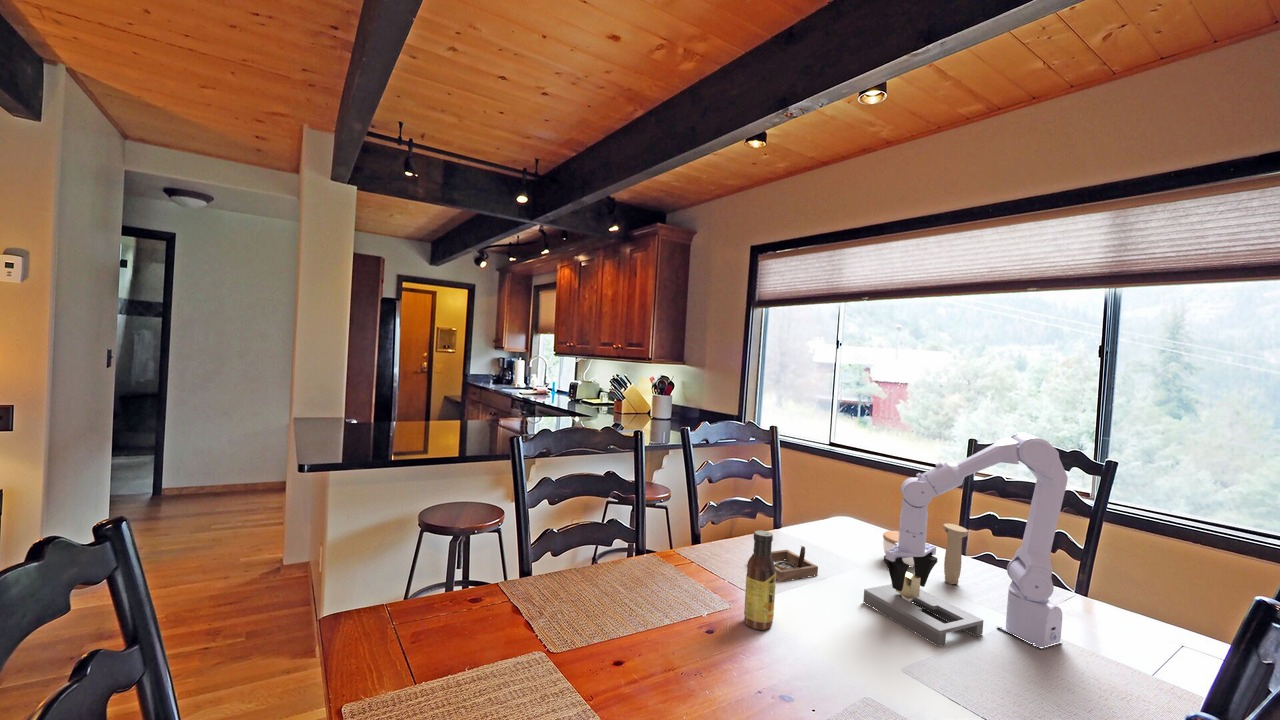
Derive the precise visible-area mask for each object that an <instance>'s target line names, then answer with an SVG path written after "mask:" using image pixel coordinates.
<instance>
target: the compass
mask: <svg viewBox="0 0 1280 720" xmlns="http://www.w3.org/2000/svg"><path fill="white" fill-rule="evenodd" d="M800 547H801V548H800V552H799V555H798V556H799V562H798V566H796V565H794V564H793V563H791V562H789V561H777V562H776V563H774V565H775V567H777V568H779V569H780V570H787V569H793V568H800V567H803V563H804V559H805V557H806V547H805V546H803V545H800Z"/></svg>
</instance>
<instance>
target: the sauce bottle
mask: <svg viewBox="0 0 1280 720" xmlns="http://www.w3.org/2000/svg"><path fill="white" fill-rule="evenodd" d="M753 540H754V542H753V553H752V554H753V555H752V554H751V556H750V557H749V559H748V560H747V567H746V568H747V569H746V571H747V572H746V575H745V576H746V577H745V589H744V590H745V592H744V593H745V594H744V595H745V596H744V610H743V611H744V612H743V614H744V619H743V620H744V621H743V622H744V623H745V624H746V625H747V626H748V627H749V628H751V629H754V630H760V631H765V630H768V629H771V628H772V626H773V623H774V621H773V620H774V614H775V612H774V611H775V598H776V596H775V595H776V583H777V582H776V581H777V579H776V569H775V562H773V558H772V554H771V552H772V543H773V540H774V534H773V533H772V532H769V531H767V530H760V529H759V530H755V531H754V532H753Z"/></svg>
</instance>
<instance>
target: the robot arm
mask: <svg viewBox="0 0 1280 720" xmlns="http://www.w3.org/2000/svg"><path fill="white" fill-rule="evenodd" d="M1019 462H1020V463H1022V464H1024V465H1025V466H1026V467H1027V469H1028V470H1029V471H1030V473H1032V474H1033V475H1034V477H1035V479H1036V480H1035V486H1034V491H1033V495H1032V498H1031V502H1030V507H1029V512H1028V515H1027V521H1026V524H1025V529H1024V533H1023V537H1022V542H1021V546H1020V547H1018V549H1017V550H1016V551H1015V554H1014V556H1013V558H1012V559H1011V560H1010V561H1009V562H1008V564H1007V567H1006V571H1007V575H1008V577H1009V579H1010V580H1011V583H1010V584H1009V586H1008V590H1007V591H1008V593H1007V605H1006V615H1005V617H1006V618H1005V623H1000V624H997V625H995V626H996V628H997V627H998V628H1000V629H1002V630H1004V631H1007V632H1009V633H1011V634H1014V635H1016V636H1018V637H1020V638H1022V639H1024V640H1026V641H1028V642H1030V643H1032V644H1033V643H1035V644H1034V645H1036V646H1038V647H1045V646H1048V645H1051V644H1054V643H1058V642H1060V641H1061V640H1062V639H1061V638H1062V628H1063V627H1062V625H1063V611H1062V609H1061V608H1060V606H1058V605H1056V604H1054V603H1053V602H1051V601H1050V600H1049V598H1050V597H1051V596H1052V594H1053V592H1054V588H1055V587H1054V582H1053V580H1052V575H1053V568H1052V567H1053V566H1052V563H1051V558H1050V557H1051V556H1050V555H1051V552H1052V548H1053V543H1054V539H1055V535H1056V531H1057V527H1058V522H1059V517H1060V513H1061V510H1062V505H1063V502H1064V497H1065V493H1066V488H1067V483H1068V474H1067V472H1066V470H1065V468H1064V466H1063V463H1062V461H1061V459H1060V453H1059V451H1058V450H1057V449H1056V448H1055V447H1054V445H1052V444H1051V443H1050V442H1049V441H1048V440H1046V439H1043V438H1041V437H1037V436H1035V435H1033V434H1031V433H1028V432H1021V431H1020V432H1016V433H1015V434H1013V435H1011V436H1008V437H1004V438H1000V439H999V440H998V441H996V442H994V443H993V444H991V445H989V446H987V447H985V448H983V449H981V450H980V451H977V452H976V453H973V454H972V455H970V456H967V458H965V459H963V460H961V461H959V462H957V463H952V462H948V461H946V462H944V463H942V462H941V461H939V462H937V463H935V464H934V465H935V467H934V468H932V469H929V470H928V471H925V472H923V473H921V472H918V473H916V475H915V476H916V477H911V476H910V477H908V478H906V479H904V480H903V482H902V483H901V486H900V487H899V489H900V493H901V495H902V496H903V497H902V500H901V508H900V515H899V529H898V531H899V541H898V543H895V547H893V548H892V549H890V550H886V554H885V555H884V556H883V561H884V563H885V565H886V567H887V570H888V572H889V576H890V580H891V584H892V587H893V588H894V589H896V590H898V591H902V589H903V584H904V578H905V574H906V572H908V569H910V568H909V566H910V565H908V564H906V563H904V561H902V559H903V558H909V557H913V560H914V565H913V567H914V575H916V576H918V577H920V578H921V579H920V587H923V588H924V587H925V586H926V585H927V581H928V578H929V575H930V574H931V571H932V570H933V568H934V567H935V565H936V564H937V563H938V557H936V556H935V555H936V554H937V546H935V545H933V544H931V543H926V542H927V533H928V532H927V531H928V518H929V513H928V508H929V507H928V506H929V504H931V502H932V500H933V498H937V497H938V496H941V495H943V494H945V493H947V492H949V491H952V490H954V489H956V488H958V487H961V486H963V482H964V480H965V478H966V477H968V476H971V475H974V474H975V473H978V472H980V471H983V470H986V469H988V468H989V467H992V466H995V465H998V464H1000V463H1002V464H1003V463H1004V464H1010V465H1011V464H1012V465H1020V463H1019ZM998 628H997V629H998ZM1000 629H999V630H1000ZM1002 630H1001V631H1002ZM1004 631H1003V632H1004Z"/></svg>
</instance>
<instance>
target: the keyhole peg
mask: <svg viewBox="0 0 1280 720" xmlns="http://www.w3.org/2000/svg"><path fill="white" fill-rule="evenodd" d="M920 579H921V578H920V577H918V576H916V575H915V574H913V573H911V572H909V571H907V572H906V574H905V578H904V584H903V589H902V591H898V590H896V592H898V593H900V594H902V595H901V598H903V599H905V600H907V601H909V602H911V603H912V602H913V598H916V597H919V592H920V589H921V586H920ZM912 604H913V603H912Z"/></svg>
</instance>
